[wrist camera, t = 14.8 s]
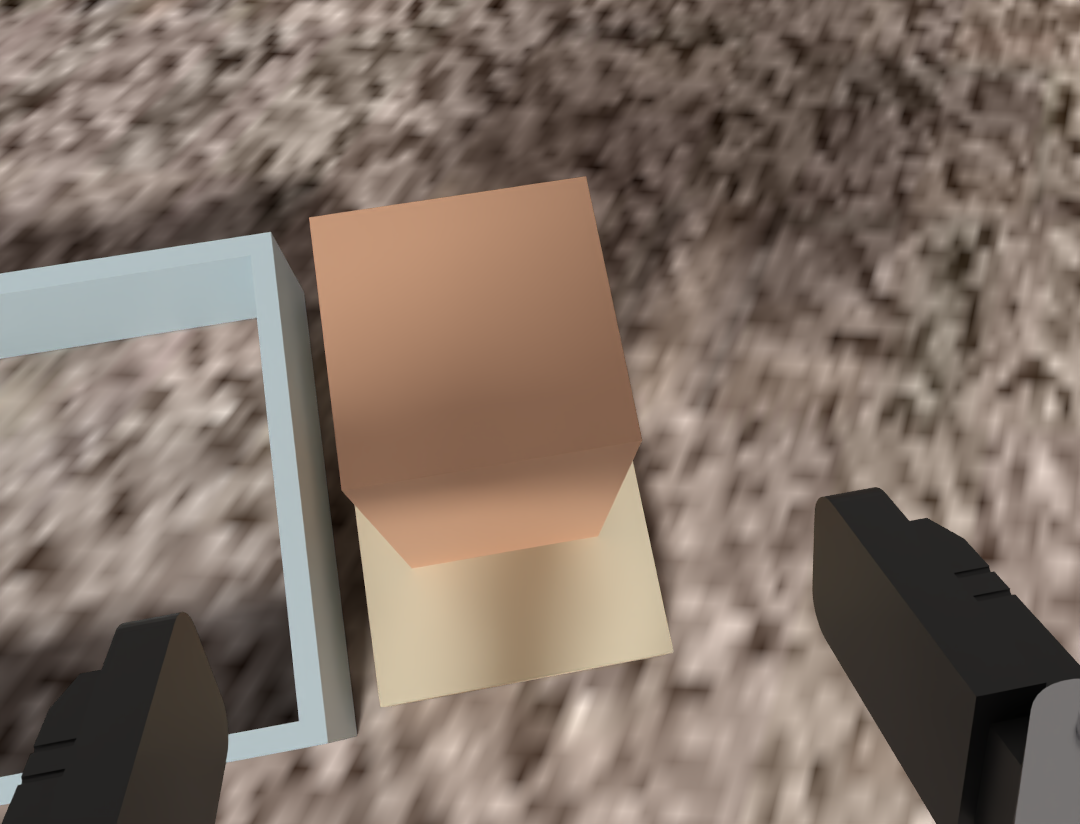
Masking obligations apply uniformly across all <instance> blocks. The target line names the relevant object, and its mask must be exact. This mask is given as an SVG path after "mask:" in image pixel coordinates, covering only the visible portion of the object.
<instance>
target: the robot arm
mask: <svg viewBox="0 0 1080 824" xmlns="http://www.w3.org/2000/svg"><path fill="white" fill-rule="evenodd" d="M813 602H814V607H815V612H816V616H817V619H818V623H819V626H820V628H821V631H822V633H823V635H824V637H825V639H826V641H827V643H828V644H829V646H830V648H831V649H832V651H833V653H834V654H835V656H836V658H837V659H838V661H839V662H840V664H841V666H842V667H843V669H844V671H845V672H846V674H847V676H848V677H849V679H850V681H851V682H852V684H853V686H854V687H855V689H856V691H857V692H858V694H859V696H860V697H861V699H862V701H863V702H864V704H865V706H866V707H867V709H868V711H869V712H870V714H871V716H872V717H873V719H874V721H875V722H876V724H877V726H878V727H879V729H880V731H881V732H882V734H883V736H884V737H885V739H886V741H887V742H888V744H889V746H890V747H891V749H892V751H893V752H894V754H895V756H896V757H897V759H898V761H899V762H900V764H901V766H902V767H903V769H904V771H905V772H906V774H907V776H908V777H909V779H910V781H911V782H912V784H913V786H914V787H915V789H916V791H917V792H918V794H919V796H920V797H921V799H922V801H923V802H924V804H925V806H926V807H927V809H928V811H929V812H930V814H931V816H932V817H933V819H934V821H935V822H936V824H1080V665H1079V664H1078V663H1077V662H1076V661H1075V660H1074V658H1073V657H1072V656H1071V655H1070V654H1069V653H1068V652H1067V651H1066V650H1065V649H1064V648H1063V646H1062V645H1061V644H1060V643H1059V642H1058V641H1057V640H1056V639H1055V638H1054V637H1053V635H1052V634H1051V633H1050V632H1049V631H1048V630H1047V629H1046V628H1045V627H1044V626H1043V625H1042V623H1041V622H1040V621H1039V620H1038V619H1037V618H1036V617H1035V616H1034V615H1033V614H1032V612H1031V611H1030V610H1029V609H1028V608H1027V607H1026V606H1025V605H1024V604H1023V603H1022V602H1021V600H1020V599H1019V598H1018V597H1017V596H1016V595H1011V593H1010V588H1009V587H1008V586H1007V585H1006V584H1005V583H1004V582H1003V581H1002V580H1001V579H1000V577H999V576H998V575H997V574H996V573H995V572H990V569H989V565H988V564H987V563H986V562H985V561H984V560H983V559H982V558H981V557H980V556H979V555H978V553H977V552H976V551H975V550H974V549H973V548H972V547H971V546H970V545H969V544H968V542H967V541H966V540H965V539H964V538H962V537H960V536H958V535H956V534H955V533H953V532H951V531H949V530H948V529H946V528H944V527H942V526H940V525H939V524H937V523H935V522H933V521H931V520H930V519H928V518H924V519H919V520H913V521H909V520H908V519H907V518H906V517H905V515H904V514H903V513H902V512H901V511H900V510H899V508H898V507H897V506H896V505H895V504H894V503H893V501H892V500H891V499H890V498H889V497H888V495H887V494H886V493H885V492H884V491H883V490H881V489H880V488H877V487H874V488H868V489H863V490H857V491H852V492H847V493H841V494H836V495H830V496H825V497H821V498H819V499H818V501H817V503H816V507H815V519H814V554H813ZM227 753H228V722H227V715H226V710H225V706H224V702H223V699H222V697H221V694H220V691H219V689H218V686H217V684H216V681H215V678H214V676H213V673H212V670H211V668H210V665H209V663H208V660H207V657H206V655H205V652H204V649H203V647H202V644H201V642H200V639H199V636H198V634H197V631H196V629H195V626H194V624H193V622H192V620H191V618H190V617H189V615H188V614H186V613H184V612H182V613H176V614H171V615H165V616H160V617H154V618H149V619H143V620H138V621H132V622H127V623H123V624H121V625H120V626H119V627H118V628H117V630H116V632H115V634H114V637H113V640H112V643H111V645H110V648H109V651H108V653H107V656H106V659H105V662H104V664H103V667H102V670H98V671H92V672H87V673H82V674H79V676H78V677H77V678H76V679H75V680H74V681H73V682H72V684H71V685H70V686H69V687H68V688H67V689H66V690H65V692H64V693H63V694H62V695H61V696H60V697H59V698H58V700H57V701H56V702H55V703H54V704H53V705H52V706H51V708H50V709H49V711H48V713H47V715H46V718H45V720H44V723H43V725H42V728H41V730H40V732H39V735H38V737H37V740H36V742H35V744H34V753H32V754H30V756H29V759H28V761H27V764H26V766H25V769H24V771H23V773H22V776H21V779H22V783H21V785H17V788H16V790H15V793H14V795H13V798H12V800H11V802H10V805H9V807H8V810H7V812H6V814H5V817H4V819H3V822H2V824H215V819H216V813H217V808H218V802H219V797H220V792H221V786H222V781H223V775H224V770H225V764H226V759H227Z"/></svg>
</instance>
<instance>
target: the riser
mask: <svg viewBox="0 0 1080 824" xmlns="http://www.w3.org/2000/svg"><path fill="white" fill-rule="evenodd" d="M355 512H356V520H357V528H358V536H359V543H360V551H361V559H362V567H363V575H364V583H365V590H366V598H367V606H368V614H369V622H370V630H371V638H372V645H373V653H374V661H375V669H376V677H377V685H378V692H379V700H380V707H389V706H395V705H401V704H406V703H411V702H417V701H422V700H427V699H433V698H438V697H443V696H449V695H454V694H459V693H465V692H470V691H475V690H481V689H486V688H491V687H497V686H502V685H507V684H513V683H518V682H523V681H529V680H534V679H539V678H545V677H550V676H555V675H561V674H566V673H571V672H577V671H582V670H587V669H593V668H598V667H603V666H609V665H614V664H619V663H625V662H630V661H635V660H641V659H646V658H651V657H657V656H662V655H666V654H669V653H673V647H672V643H671V638H670V633H669V629H668V624H667V619H666V615H665V610H664V605H663V601H662V596H661V591H660V587H659V582H658V577H657V572H656V568H655V563H654V558H653V554H652V549H651V544H650V540H649V535H648V530H647V526H646V521H645V516H644V512H643V507H642V502H641V498H640V493H639V488H638V484H637V479H636V474H635V470H634V465H633V461H632V463H631V466H630V468H629V470H628V472H627V474H626V477H625V479H624V481H623V483H622V485H621V487H620V490H619V492H618V494H617V496H616V498H615V501H614V503H613V505H612V507H611V509H610V511H609V514H608V516H607V518H606V520H605V522H604V525H603V527H602V529H601V531H600V533H599V535H598V536H596V537H590V538H585V539H579V540H573V541H567V542H562V543H556V544H550V545H544V546H538V547H533V548H527V549H521V550H515V551H510V552H504V553H498V554H492V555H487V556H481V557H475V558H469V559H464V560H458V561H452V562H446V563H440V564H435V565H429V566H423V567H417V568H411V567H410V566H409V565H408V564H407V563H406V561H405V560H404V559H403V558H402V557H401V556H400V555H399V554H398V553H397V551H396V550H395V549H394V548H393V547H392V546H391V545H390V544H389V543H388V541H387V540H386V539H385V538H384V537H383V536H382V535H381V534H380V533H379V531H378V530H377V529H376V528H375V527H374V526H373V525H372V524H371V523H370V521H369V520H368V519H367V518H366V517H365V516H364V515H363V514H362V513H361V511H360V510H359V509H358V508H357V507H356V506H355Z"/></svg>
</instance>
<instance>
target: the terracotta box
mask: <svg viewBox="0 0 1080 824" xmlns="http://www.w3.org/2000/svg"><path fill="white" fill-rule="evenodd" d="M309 221H310V229H311V238H312V246H313V255H314V263H315V271H316V280H317V288H318V297H319V305H320V313H321V322H322V330H323V338H324V347H325V355H326V364H327V372H328V380H329V389H330V397H331V406H332V414H333V422H334V431H335V439H336V447H337V456H338V464H339V473H340V481H341V489H342V491H343V493H344V494H345V495H346V496H347V497H348V498H349V499H350V500H351V501H352V503H353V504H354V505H355V506H356V507H357V508H358V509H359V510H360V511H361V513H362V514H363V515H364V516H365V517H366V518H367V519H368V520H369V521H370V523H371V524H372V525H373V526H374V527H375V528H376V529H377V530H378V531H379V533H380V534H381V535H382V536H383V537H384V538H385V539H386V540H387V541H388V543H389V544H390V545H391V546H392V547H393V548H394V549H395V550H396V551H397V553H398V554H399V555H400V556H401V557H402V558H403V559H404V560H405V561H406V563H407V564H408V565H409V566H410V567H411V568H417V567H423V566H429V565H435V564H440V563H446V562H452V561H458V560H464V559H469V558H475V557H481V556H487V555H492V554H498V553H504V552H510V551H515V550H521V549H527V548H533V547H538V546H544V545H550V544H556V543H562V542H567V541H573V540H579V539H585V538H590V537H596V536H598V535H599V533H600V531H601V529H602V527H603V525H604V522H605V520H606V518H607V516H608V514H609V511H610V509H611V507H612V505H613V503H614V501H615V498H616V496H617V494H618V492H619V490H620V487H621V485H622V483H623V481H624V479H625V477H626V474H627V472H628V470H629V468H630V466H631V463H632V461H633V459H634V457H635V455H636V453H637V450H638V448H639V446H640V444H641V442H642V437H641V432H640V428H639V423H638V418H637V413H636V409H635V404H634V399H633V395H632V390H631V385H630V381H629V376H628V371H627V366H626V362H625V357H624V352H623V348H622V343H621V338H620V334H619V329H618V324H617V319H616V315H615V310H614V305H613V301H612V296H611V291H610V287H609V282H608V277H607V273H606V268H605V263H604V258H603V254H602V249H601V244H600V240H599V235H598V230H597V226H596V221H595V216H594V211H593V207H592V202H591V197H590V193H589V188H588V183H587V179H586V176H584V177H577V178H571V179H564V180H557V181H551V182H544V183H537V184H530V185H524V186H517V187H510V188H504V189H497V190H490V191H484V192H477V193H470V194H463V195H457V196H450V197H443V198H437V199H430V200H423V201H416V202H410V203H403V204H396V205H390V206H383V207H376V208H369V209H363V210H356V211H349V212H343V213H336V214H329V215H323V216H316V217H309Z"/></svg>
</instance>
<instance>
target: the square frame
mask: <svg viewBox="0 0 1080 824" xmlns="http://www.w3.org/2000/svg"><path fill="white" fill-rule="evenodd" d="M252 318H257V323H258V332H259V342H260V351H261V361H262V370H263V380H264V390H265V399H266V409H267V418H268V428H269V438H270V447H271V457H272V466H273V476H274V486H275V495H276V505H277V514H278V524H279V534H280V543H281V553H282V562H283V572H284V581H285V591H286V601H287V610H288V620H289V629H290V639H291V649H292V658H293V668H294V677H295V687H296V697H297V706H298V716H299V721H297V722H292V723H287V724H281V725H276V726H271V727H265V728H260V729H255V730H249V731H244V732H239V733H233V734H228V753H227V759H226V762H232V761H237V760H242V759H247V758H253V757H258V756H263V755H269V754H274V753H279V752H284V751H290V750H295V749H300V748H306V747H311V746H316V745H321V744H327V743H331V742H335V741H339V740H343V739H347V738H351V737H355V736H357V729H356V721H355V713H354V704H353V696H352V688H351V679H350V671H349V663H348V654H347V646H346V638H345V629H344V621H343V613H342V604H341V596H340V588H339V579H338V571H337V563H336V554H335V546H334V538H333V529H332V521H331V513H330V504H329V496H328V488H327V479H326V471H325V463H324V455H323V446H322V438H321V430H320V421H319V413H318V405H317V396H316V388H315V380H314V371H313V363H312V355H311V346H310V338H309V330H308V321H307V313H306V305H305V296H304V291H303V289H302V288H301V286H300V284H299V282H298V280H297V279H296V277H295V275H294V273H293V271H292V269H291V268H290V266H289V264H288V262H287V260H286V259H285V257H284V255H283V253H282V251H281V249H280V248H279V246H278V244H277V242H276V240H275V239H274V237H273V235H272V233H271V232H267V233H260V234H254V235H247V236H241V237H234V238H228V239H221V240H215V241H208V242H202V243H195V244H189V245H182V246H176V247H169V248H163V249H157V250H150V251H144V252H137V253H131V254H124V255H118V256H111V257H105V258H98V259H92V260H85V261H79V262H72V263H66V264H59V265H53V266H46V267H40V268H33V269H27V270H20V271H14V272H7V273H1V274H0V359H2V358H8V357H14V356H21V355H27V354H33V353H39V352H46V351H52V350H58V349H64V348H71V347H77V346H83V345H90V344H96V343H102V342H108V341H115V340H121V339H127V338H133V337H140V336H146V335H152V334H158V333H165V332H171V331H177V330H183V329H190V328H196V327H202V326H209V325H215V324H221V323H227V322H234V321H240V320H246V319H252ZM21 776H22V773H20V774H14V775H9V776H4V777H0V805H4V804H9V803H10V802H11V800H12V798H13V795H14V793H15V790H16V788H17V785H21V783H22V779H21Z"/></svg>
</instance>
